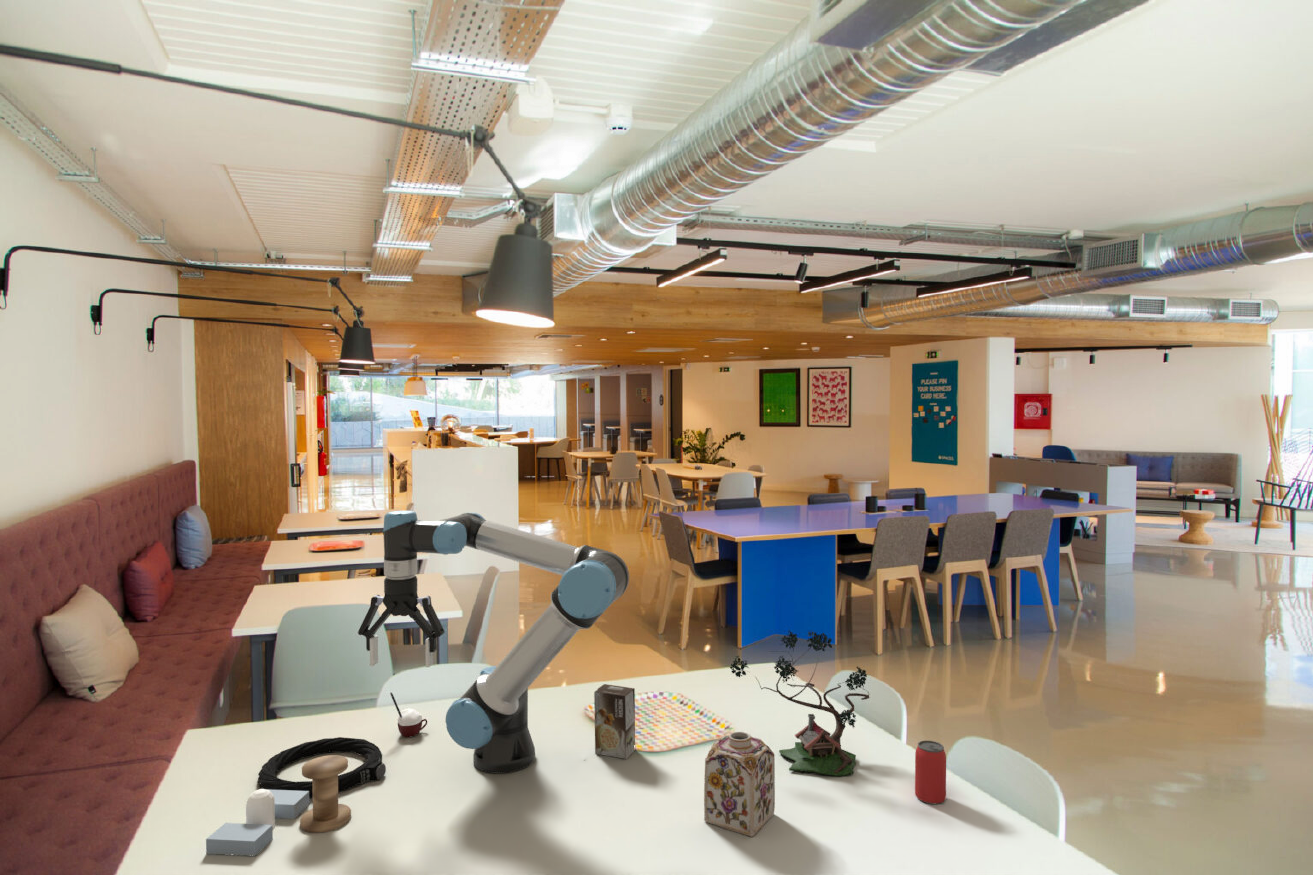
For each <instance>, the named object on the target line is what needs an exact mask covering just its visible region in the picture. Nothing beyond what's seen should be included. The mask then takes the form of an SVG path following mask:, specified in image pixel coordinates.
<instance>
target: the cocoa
mask: <svg viewBox="0 0 1313 875" xmlns="http://www.w3.org/2000/svg"><path fill="white" fill-rule="evenodd" d="M390 697H391V699H392V701H393V703H394V706H395V709H396V711H397V713H398V717H397V729H398V731H399V734H400V735H401V736H403V737H404V736H405V737H404V738H411V737H410V736H413V737H416V736H417V735H419V734H420V732H421V731H422V730H423V729H424V728H425V727H426V726H427V725H428V720H427V719H426V718H423V715H422V714H421V713H420V712H419V711H418V710H415V709H413V708H406V709H402V710H401V711H400V708H399V706H398V704H397V701H396V699H395V696H394V694H393V692H390ZM424 722H425V723H424ZM423 723H424V725H423Z"/></svg>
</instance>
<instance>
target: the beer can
mask: <svg viewBox="0 0 1313 875" xmlns="http://www.w3.org/2000/svg"><path fill="white" fill-rule="evenodd" d="M914 756H915V758H914V759H915V762H914V764H915V766H914V767H915V770H914V795H915V797H916V798H917V799H918V800H919V801H921V802H923V803H926V804H931V805H939V804H943V803H944V802H945V801H946V799H947V755H946V751H945V748H944V745H943V744H941V743H940V742H937V741H934V740H921V741H918V743H917V746H916V749H915V753H914Z"/></svg>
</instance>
